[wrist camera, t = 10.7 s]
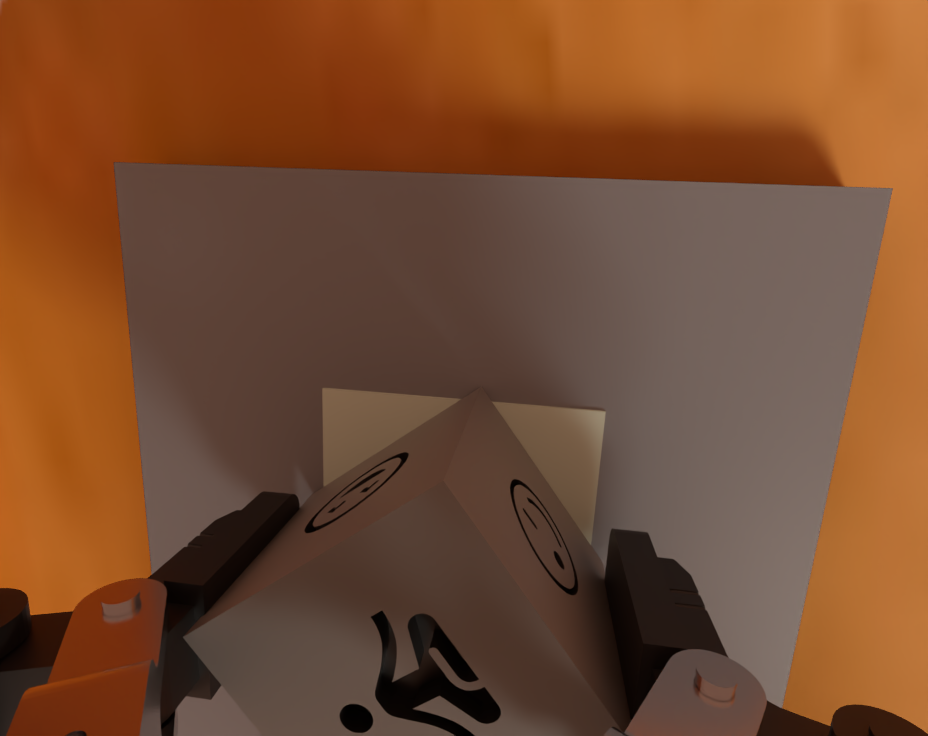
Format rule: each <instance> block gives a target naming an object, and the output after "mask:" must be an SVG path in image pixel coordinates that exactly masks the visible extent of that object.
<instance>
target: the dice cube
mask: <svg viewBox="0 0 928 736" xmlns="http://www.w3.org/2000/svg"><path fill="white" fill-rule="evenodd" d="M604 578H605V571H604V566H603V562H602V561H601V559H600V558H599V556H598V555H597V554H596V552H595V551H594V549H593V548H592V546H591V545H590V543H589V542H588V540H587V539H586V538H585V536H584V535H583V533H582V532H581V530H580V529H579V527H578V526H577V525H576V523H575V522H574V520H573V519H572V517H571V516H570V514H569V513H568V511H567V510H566V509H565V507H564V506H563V504H562V503H561V501H560V500H559V498H558V497H557V495H556V494H555V493H554V491H553V490H552V488H551V487H550V485H549V484H548V482H547V481H546V479H545V478H544V477H543V475H542V474H541V472H540V471H539V469H538V468H537V466H536V465H535V463H534V462H533V461H532V459H531V458H530V456H529V455H528V453H527V452H526V450H525V449H524V448H523V446H522V445H521V443H520V442H519V440H518V439H517V437H516V436H515V434H514V433H513V432H512V430H511V429H510V427H509V426H508V424H507V423H506V421H505V420H504V418H503V417H502V416H501V414H500V413H499V411H498V410H497V408H496V407H495V405H494V404H493V402H492V401H491V400H490V398H489V397H488V395H487V394H486V392H485V391H484V389H483V388H482V387H480V388H478V389H477V390H475V391H473V392H472V393H470V394H469V395H467V396H466V397H464V398H462V399H461V400H459V401H458V402H456V403H455V404H453V405H451V406H450V407H448V408H447V409H445V410H444V411H442V412H441V413H439V414H437V415H436V416H434V417H433V418H431V419H430V420H428V421H426V422H425V423H423V424H422V425H420V426H419V427H417V428H415V429H414V430H412V431H411V432H409V433H408V434H406V435H404V436H403V437H401V438H400V439H398V440H397V441H395V442H393V443H392V444H390V445H389V446H387V447H386V448H384V449H382V450H381V451H379V452H378V453H376V454H375V455H373V456H371V457H370V458H368V459H367V460H365V461H364V462H362V463H360V464H359V465H357V466H356V467H354V468H353V469H351V470H349V471H348V472H346V473H345V474H343V475H342V476H340V477H338V478H337V479H335V480H334V481H332V482H331V483H329V484H327V485H326V486H324V487H323V488H321V489H320V490H318V491H316V492H315V493H313V494H312V495H311V496H310V497H309V498H308V499H307V500H306V501H305V502H304V504H303V505H302V506H301V507H300V509H299V510H298V511H297V512H296V514H295V515H294V516H293V517H292V518H291V519H290V520H289V521H288V523H287V524H286V525H285V526H284V527H283V528H282V529H281V530H280V531H279V533H278V534H277V535H276V536H275V537H274V538H273V539H272V540H271V541H270V543H269V544H268V545H267V546H266V547H265V548H264V549H263V550H262V551H261V553H260V554H259V555H258V556H257V557H256V558H255V559H254V560H253V561H252V563H251V564H250V565H249V566H248V567H247V568H246V569H245V570H244V572H243V573H242V574H241V575H240V576H239V577H238V578H237V579H236V580H235V582H234V583H233V584H232V585H231V586H230V587H229V588H228V589H227V590H226V592H225V593H224V594H223V595H222V596H221V597H220V598H219V599H218V600H217V602H216V603H215V604H214V605H213V606H212V607H211V608H210V609H209V610H208V612H207V613H206V614H205V615H203V616H202V617H200V619H199V620H198V621H197V622H196V623H195V624H194V625H193V626H192V627H191V628H190V630H189V631H188V632H187V633H186V634H185V635H184V636H183V638H184V639H185V641H186V642H187V643H188V644H189V646H190V647H191V648H192V649H193V651H194V652H195V653H196V654H197V656H198V657H199V658H200V659H201V660H202V662H203V663H204V664H205V665H206V667H207V668H208V669H209V670H210V672H211V673H212V674H213V675H214V677H215V678H216V679H217V680H218V681H219V683H220V684H221V685H222V686H223V688H224V689H225V690H226V691H227V693H228V694H229V695H230V696H231V698H232V699H233V700H234V701H235V702H236V704H237V705H238V706H239V707H240V709H241V710H242V711H243V712H244V714H245V715H246V716H247V717H248V719H249V720H250V721H251V722H252V723H253V725H254V726H255V727H256V728H257V730H258V731H259V732H260V733H261V735H262V736H604V734H605V733H606V732H607V731H608V730H609V729H610V728H611V727H615V728H617V729H619V730H620V731H622V732H625V730H626V729H627V727H628V726H629V724H630V722H631V718H630V712H629V707H628V702H627V697H626V692H625V686H624V681H623V676H622V671H621V665H620V660H619V655H618V650H617V644H616V639H615V634H614V629H613V624H612V618H611V613H610V608H609V603H608V597H607V592H606V587H605V582H604Z"/></svg>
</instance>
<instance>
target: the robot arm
mask: <svg viewBox="0 0 928 736" xmlns="http://www.w3.org/2000/svg"><path fill="white" fill-rule="evenodd" d="M299 509H300V503H299V499H298V497H297V495H295V494H287V493H278V492H268V491H263V492H261V493H260V494H259V495H257V496H256V497H255V498H254V499H253V500H252V501H251V502H250V503H249V504H248V505H246V506H245V507H244V508H243V509H242V510H235V511H233V512H231V513H229V514H227V515H225V516H223V517H221V518H219V519H216V520H215V521H214V522H212V523H211V524H210V525H209V526H208V527H207V528H205V529H204V530H203V531H202V532H201V533H200V536H196V537H195V538H194V539H193V540H192V541H190V542H189V543H188V546H187V547H183V548H182V549H181V550H180V551H179V552H178V553H176V554H175V555H174V556H173V557H172V558H171V559H169V560H168V561H167V562H166V563H165V564H164V565H163V566H161V567H160V568H159V569H158V570H157V571H156V572H154V573H153V574H152V575H151V576H150V577H149V578H147V579H146V578H136V579H128V580H123V581H118V582H115V583H112V584H109V585H106V586H104V587H102V588H100V589H97V590H96V591H94V592H92V593H90V594H89V595H88V596H86V597H85V598H84V599H82V600H81V601H80V602H79V603H78V605H77V606H76V607H75V609H74V611H73V612H62V613H51V614H40V615H30V609H29V603H28V597H27V595H26V594H25V593H24V592H22V591H20V590H17V589H11V588H0V736H177V735H178V712H177V707H178V706H179V704H180V703H181V702H182V701H183V699H184V698H185V697H186V696H188V697H194V698H201V699H208V700H211V699H212V698H213V696H214V695H215V694H216V692H217V691H218V689H219V688H220V687H221V684H220V683H219V681H218V680H217V679H216V678H215V677H214V675H213V674H212V673H211V672H210V670H209V669H208V668H207V667H206V665H205V664H204V663H203V662H202V660H201V659H200V658H199V657H198V656H197V654H196V653H195V652H194V651H193V649H192V648H191V647H190V646H189V644H188V643H187V642H186V641H185V639H184V638H183V636H184V635H185V634H186V633H187V632H188V631H189V630H190V628H191V627H192V626H193V625H194V624H195V623H196V622H197V621H198V620H199V619H200V617H202V616H203V615H205V614H206V613H207V612H208V610H209V609H210V608H211V607H212V606H213V605H214V604H215V603H216V602H217V600H218V599H219V598H220V597H221V596H222V595H223V594H224V593H225V592H226V590H227V589H228V588H229V587H230V586H231V585H232V584H233V583H234V582H235V580H236V579H237V578H238V577H239V576H240V575H241V574H242V573H243V572H244V570H245V569H246V568H247V567H248V566H249V565H250V564H251V563H252V561H253V560H254V559H255V558H256V557H257V556H258V555H259V554H260V553H261V551H262V550H263V549H264V548H265V547H266V546H267V545H268V544H269V543H270V541H271V540H272V539H273V538H274V537H275V536H276V535H277V534H278V533H279V531H280V530H281V529H282V528H283V527H284V526H285V525H286V524H287V523H288V521H289V520H290V519H291V518H292V517H293V516H294V515H295V514H296V512H297V511H298V510H299ZM604 582H605V587H606V592H607V597H608V603H609V608H610V613H611V618H612V624H613V629H614V634H615V639H616V644H617V650H618V655H619V660H620V665H621V671H622V676H623V681H624V686H625V692H626V697H627V702H628V707H629V712H630V718H631V722H630V724H629V726H628V727H627V729H626V730H625V732H622V731H620V730H619V729H617V728H615V727H611V728H610V729H609V730H608V731H607V732H606V733H605V734H604V736H928V734H927V733H926V732H924V731H923V730H922V729H920V728H918V727H917V726H915V725H914V724H912V723H910V722H909V721H907V720H905V719H903V718H901V717H899V716H897V715H895V714H892V713H890V712H887V711H885V710H882V709H879V708H875V707H871V706H865V705H846V706H843V707H841V708H839V709H838V710H836V712H835V713H834V715H833V718H832V722H831V726H828V725H825V724H822V723H820V722H817V721H814V720H811V719H809V718H806V717H803V716H800V715H798V714H795V713H792V712H790V711H787V710H785V709H782V708H780V707H778V706H776V705H774V704H772V703H771V702H769V701H767V699H766V694H765V691H764V689H763V687H762V686H761V684H760V682H759V681H758V680H757V679H756V677H755V676H754V675H753V674H752V673H750V672H749V671H748V670H747V669H746V668H744V667H743V666H742V665H740V664H739V663H737V662H736V661H734V660H732V659H730V658H728V656H727V653H726V651H725V649H724V647H723V645H722V642H721V640H720V638H719V636H718V634H717V631H716V629H715V627H714V625H713V623H712V620H711V618H710V616H709V614H708V611H707V610H705V605H704V603H703V600H702V598H701V596H700V595H699V592H698V589H697V587H696V585H695V583H694V581H693V578H692V576H691V574H689V573H688V572H687V571H686V570H685V569H684V568H683V567H682V566H681V565H680V564H679V563H678V562H677V561H675V560H674V559H670V558H661V557H657V555H656V552H655V549H654V547H653V544H652V541H651V539H650V536H649V534H648V532H642V531H632V530H623V529H613V528H612V529H611V532H610V537H609V544H608V553H607V561H606V570H605V578H604Z"/></svg>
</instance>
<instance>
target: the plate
mask: <svg viewBox="0 0 928 736" xmlns="http://www.w3.org/2000/svg"><path fill="white" fill-rule="evenodd" d="M114 172H115V182H116V193H117V204H118V215H119V226H120V237H121V247H122V258H123V269H124V280H125V291H126V301H127V312H128V323H129V334H130V345H131V355H132V366H133V377H134V388H135V399H136V409H137V420H138V431H139V442H140V453H141V463H142V474H143V485H144V496H145V507H146V517H147V528H148V539H149V550H150V561H151V571H152V574H153V573H154V572H156V571H157V570H158V569H159V568H160V567H161V566H163V565H164V564H165V563H166V562H167V561H168V560H169V559H171V558H172V557H173V556H174V555H175V554H176V553H178V552H179V551H180V550H181V549H182V548H183V547H187V546H188V543H189V542H190V541H192V540H193V539H194V538H195V537H196V536H200V533H201V532H202V531H203V530H204V529H205V528H207V527H208V526H209V525H210V524H211V523H212V522H214V521H215V520H216V519H219V518H221V517H223V516H225V515H227V514H229V513H231V512H233V511H235V510H242V509H243V508H244V507H245V506H246V505H248V504H249V503H250V502H251V501H252V500H253V499H254V498H255V497H256V496H257V495H259V494H260V493H261V492H263V491H268V492H278V493H287V494H295V495H297V497H298V499H299V503H300V507H301V506H302V505H303V504H304V502H305V501H306V500H307V499H308V498H309V497H310V496H311V495H312V494H313V493H315V492H316V491H318V490H320V489H321V488H323V487H324V486H326V485H327V484H329V483H331V482H332V481H334V480H335V479H337V478H338V477H340V476H342V475H343V474H345V473H346V472H348V471H349V470H351V469H353V468H354V467H356V466H357V465H359V464H360V463H362V462H364V461H365V460H367V459H368V458H370V457H371V456H373V455H375V454H376V453H378V452H379V451H381V450H382V449H384V448H386V447H387V446H389V445H390V444H392V443H393V442H395V441H397V440H398V439H400V438H401V437H403V436H404V435H406V434H408V433H409V432H411V431H412V430H414V429H415V428H417V427H419V426H420V425H422V424H423V423H425V422H426V421H428V420H430V419H431V418H433V417H434V416H436V415H437V414H439V413H441V412H442V411H444V410H445V409H447V408H448V407H450V406H451V405H453V404H455V403H456V402H458V401H459V400H461V399H462V398H464V397H466V396H467V395H469V394H470V393H472V392H473V391H475V390H477V389H478V388H480V387H482V388H483V389H484V391H485V392H486V394H487V395H488V397H489V398H490V400H491V401H492V402H493V404H494V405H495V407H496V408H497V410H498V411H499V413H500V414H501V416H502V417H503V418H504V420H505V421H506V423H507V424H508V426H509V427H510V429H511V430H512V432H513V433H514V434H515V436H516V437H517V439H518V440H519V442H520V443H521V445H522V446H523V448H524V449H525V450H526V452H527V453H528V455H529V456H530V458H531V459H532V461H533V462H534V463H535V465H536V466H537V468H538V469H539V471H540V472H541V474H542V475H543V477H544V478H545V479H546V481H547V482H548V484H549V485H550V487H551V488H552V490H553V491H554V493H555V494H556V495H557V497H558V498H559V500H560V501H561V503H562V504H563V506H564V507H565V509H566V510H567V511H568V513H569V514H570V516H571V517H572V519H573V520H574V522H575V523H576V525H577V526H578V527H579V529H580V530H581V532H582V533H583V535H584V536H585V538H586V539H587V540H588V542H589V543H590V545H591V546H592V548H593V549H594V551H595V552H596V554H597V555H598V556H599V558H600V559H601V561H602V562H603V566H604V571H605V570H606V561H607V553H608V544H609V537H610V532H611V529H612V528H613V529H623V530H632V531H642V532H648V534H649V536H650V539H651V541H652V544H653V547H654V549H655V552H656V555H657V557H661V558H670V559H674V560H675V561H677V562H678V563H679V564H680V565H681V566H682V567H683V568H684V569H685V570H686V571H687V572H688V573H689V574H691V576H692V578H693V581H694V583H695V585H696V587H697V589H698V592H699V595H700V596H701V598H702V600H703V603H704V605H705V610H707V611H708V614H709V616H710V618H711V620H712V623H713V625H714V627H715V629H716V631H717V634H718V636H719V638H720V640H721V642H722V645H723V647H724V649H725V651H726V653H727V656H728V658H730V659H732V660H734V661H736V662H737V663H739V664H740V665H742V666H743V667H744V668H746V669H747V670H748V671H749V672H750V673H752V674H753V675H754V676H755V677H756V679H757V680H758V681H759V682H760V684H761V686H762V687H763V689H764V691H765V694H766V699H767V701H769V702H771V703H772V704H774V705H776V706H778V707H780V708H782V706H783V701H784V697H785V692H786V687H787V682H788V678H789V673H790V668H791V664H792V659H793V654H794V650H795V645H796V640H797V636H798V631H799V626H800V621H801V617H802V612H803V607H804V603H805V598H806V593H807V589H808V584H809V579H810V574H811V570H812V565H813V560H814V556H815V551H816V546H817V542H818V537H819V532H820V527H821V523H822V518H823V513H824V509H825V504H826V499H827V495H828V490H829V485H830V481H831V476H832V471H833V466H834V462H835V457H836V452H837V448H838V443H839V438H840V434H841V429H842V424H843V419H844V415H845V410H846V405H847V401H848V396H849V391H850V387H851V382H852V377H853V373H854V368H855V363H856V358H857V354H858V349H859V344H860V340H861V335H862V330H863V326H864V321H865V316H866V311H867V307H868V302H869V297H870V293H871V288H872V283H873V279H874V274H875V269H876V265H877V260H878V255H879V250H880V246H881V241H882V236H883V232H884V227H885V222H886V218H887V213H888V208H889V203H890V199H891V194H892V189H893V188H865V187H835V186H806V185H776V184H746V183H717V182H687V181H657V180H628V179H598V178H568V177H539V176H509V175H479V174H449V173H420V172H390V171H360V170H331V169H301V168H271V167H242V166H212V165H182V164H153V163H123V162H114ZM177 712H178V735H177V736H262V735H261V733H260V732H259V731H258V730H257V728H256V727H255V726H254V725H253V723H252V722H251V721H250V720H249V719H248V717H247V716H246V715H245V714H244V712H243V711H242V710H241V709H240V707H239V706H238V705H237V704H236V702H235V701H234V700H233V699H232V698H231V696H230V695H229V694H228V693H227V691H226V690H225V689H224V688H223V686H222V685H221V687H220V688H219V689H218V691H217V692H216V694H215V695H214V696H213V698H212V699H211V700H208V699H201V698H194V697H188V696H186V697H185V698H184V699H183V701H182V702H181V703H180V704H179V706H178V707H177Z"/></svg>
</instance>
